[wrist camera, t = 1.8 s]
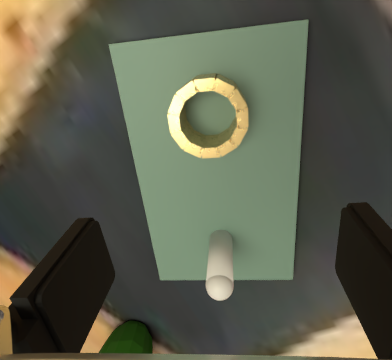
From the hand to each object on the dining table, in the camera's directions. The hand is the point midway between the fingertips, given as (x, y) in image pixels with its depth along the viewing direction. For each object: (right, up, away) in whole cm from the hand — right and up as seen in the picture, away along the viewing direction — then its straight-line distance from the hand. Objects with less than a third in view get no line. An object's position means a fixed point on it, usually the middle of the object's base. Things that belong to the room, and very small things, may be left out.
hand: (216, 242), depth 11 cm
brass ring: (+1, +9, +17) cm, 19 cm away
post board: (+2, +3, +22) cm, 22 cm away
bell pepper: (-11, -23, +36) cm, 44 cm away
